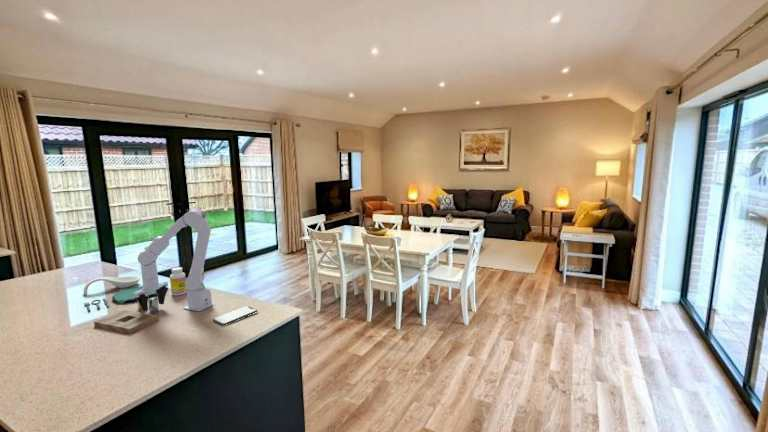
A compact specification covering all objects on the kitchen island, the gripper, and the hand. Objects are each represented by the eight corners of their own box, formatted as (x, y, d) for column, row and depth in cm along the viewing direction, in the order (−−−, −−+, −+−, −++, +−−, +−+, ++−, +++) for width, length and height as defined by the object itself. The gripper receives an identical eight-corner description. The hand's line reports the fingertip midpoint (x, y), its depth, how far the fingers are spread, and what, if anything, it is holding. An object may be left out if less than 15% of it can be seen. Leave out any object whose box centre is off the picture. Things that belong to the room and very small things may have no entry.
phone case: (223, 328, 144) (258, 313, 156) (223, 324, 144) (258, 309, 156) (211, 322, 149) (246, 308, 162) (211, 318, 149) (246, 305, 161)
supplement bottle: (180, 296, 176) (177, 271, 174) (168, 295, 177) (165, 270, 175) (190, 291, 182) (187, 266, 180) (178, 290, 184) (176, 266, 182)
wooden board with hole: (158, 320, 150) (158, 316, 149) (130, 333, 139) (129, 329, 138) (124, 314, 156) (123, 309, 156) (94, 326, 145) (93, 321, 145)
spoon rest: (138, 281, 200) (137, 268, 199) (142, 286, 191) (140, 273, 190) (83, 291, 184) (81, 278, 183) (84, 298, 176) (82, 284, 175)
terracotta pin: (149, 307, 163) (148, 294, 162) (142, 310, 160) (140, 297, 159) (144, 306, 164) (142, 293, 163) (136, 309, 161) (134, 296, 160)
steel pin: (160, 310, 160) (159, 297, 159) (153, 313, 156) (151, 300, 155) (155, 309, 161) (153, 296, 160) (147, 312, 158) (146, 299, 157)
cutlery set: (165, 295, 177) (165, 291, 177) (87, 315, 157) (86, 310, 157) (156, 286, 192) (155, 282, 191) (83, 303, 171) (82, 298, 171)
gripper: (158, 271, 164) (161, 299, 166) (126, 281, 151) (130, 312, 153) (170, 273, 162) (173, 301, 164) (139, 283, 148) (142, 314, 150)
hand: (153, 307), depth 158 cm, fingers open, 7 cm apart
